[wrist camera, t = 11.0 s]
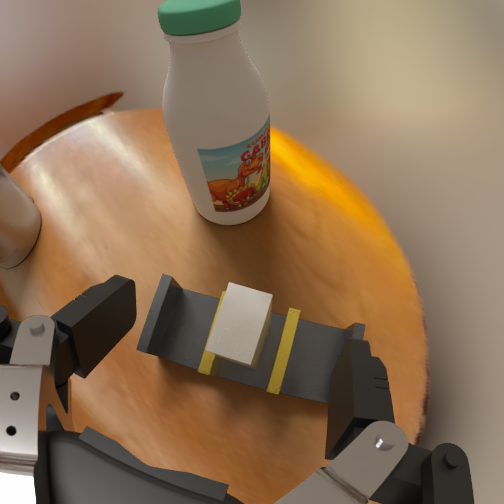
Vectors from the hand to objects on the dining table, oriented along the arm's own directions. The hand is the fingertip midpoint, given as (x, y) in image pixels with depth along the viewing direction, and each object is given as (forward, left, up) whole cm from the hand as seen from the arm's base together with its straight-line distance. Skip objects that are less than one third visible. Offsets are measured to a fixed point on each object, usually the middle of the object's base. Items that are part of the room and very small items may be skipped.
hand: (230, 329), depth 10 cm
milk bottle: (-15, +4, -15) cm, 21 cm away
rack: (-1, 0, -14) cm, 14 cm away
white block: (-1, 0, -13) cm, 13 cm away
